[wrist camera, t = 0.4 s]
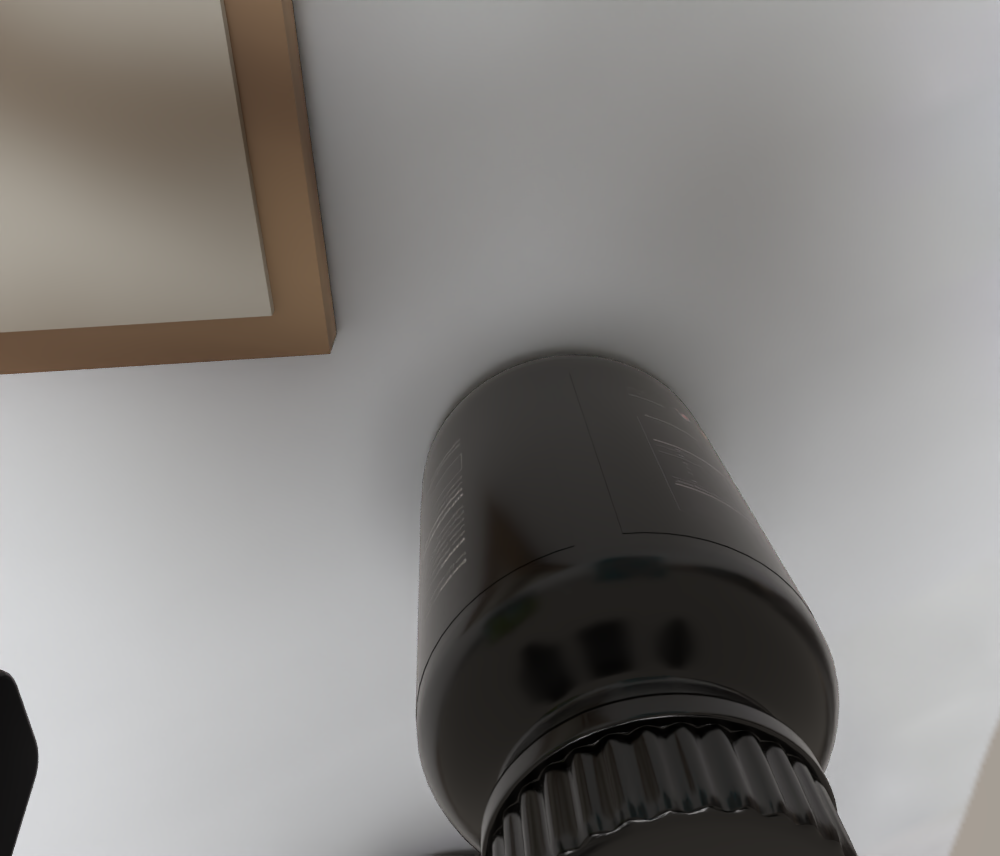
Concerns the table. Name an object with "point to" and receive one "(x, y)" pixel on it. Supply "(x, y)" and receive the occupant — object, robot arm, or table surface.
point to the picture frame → (156, 186)
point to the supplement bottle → (612, 633)
